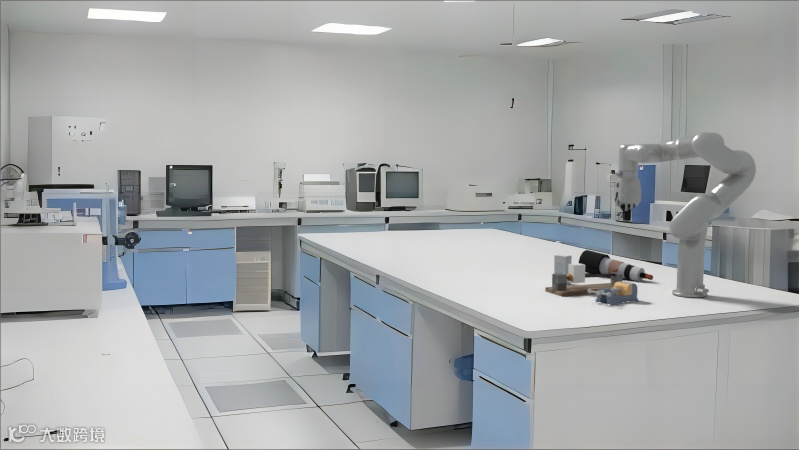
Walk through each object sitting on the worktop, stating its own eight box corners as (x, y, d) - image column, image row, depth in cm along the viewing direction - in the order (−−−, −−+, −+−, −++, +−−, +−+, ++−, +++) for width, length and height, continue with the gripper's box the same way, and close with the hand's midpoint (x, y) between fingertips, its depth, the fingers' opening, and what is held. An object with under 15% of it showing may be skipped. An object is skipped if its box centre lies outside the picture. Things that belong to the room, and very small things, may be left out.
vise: (619, 297, 294) (619, 280, 293) (641, 301, 285) (642, 283, 285) (586, 302, 284) (586, 284, 283) (608, 307, 275) (609, 288, 275)
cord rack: (627, 291, 305) (628, 272, 304) (561, 296, 295) (562, 276, 294) (609, 286, 316) (609, 268, 316) (545, 291, 306) (545, 272, 305)
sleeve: (584, 282, 302) (585, 264, 302) (573, 283, 301) (574, 265, 300) (579, 280, 306) (579, 263, 305) (568, 281, 304) (568, 263, 304)
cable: (647, 293, 325) (644, 274, 321) (580, 275, 350) (576, 257, 345) (659, 280, 330) (656, 261, 326) (593, 264, 355) (589, 245, 350)
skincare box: (571, 284, 323) (572, 255, 321) (565, 285, 320) (565, 256, 319) (559, 282, 327) (560, 254, 326) (553, 283, 324) (553, 254, 323)
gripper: (618, 175, 306) (616, 222, 308) (649, 175, 311) (647, 220, 313) (606, 175, 313) (605, 220, 315) (637, 174, 318) (636, 219, 320)
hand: (626, 220), depth 314 cm, fingers closed
